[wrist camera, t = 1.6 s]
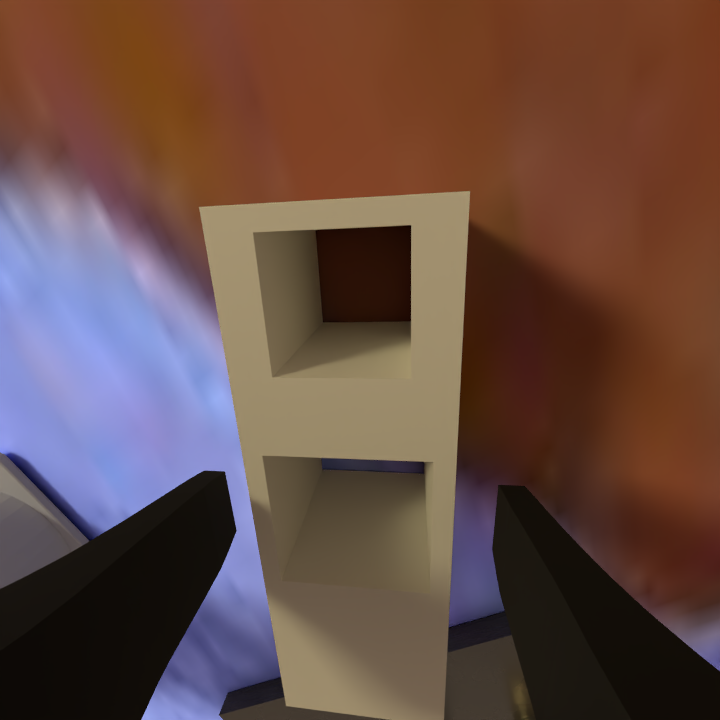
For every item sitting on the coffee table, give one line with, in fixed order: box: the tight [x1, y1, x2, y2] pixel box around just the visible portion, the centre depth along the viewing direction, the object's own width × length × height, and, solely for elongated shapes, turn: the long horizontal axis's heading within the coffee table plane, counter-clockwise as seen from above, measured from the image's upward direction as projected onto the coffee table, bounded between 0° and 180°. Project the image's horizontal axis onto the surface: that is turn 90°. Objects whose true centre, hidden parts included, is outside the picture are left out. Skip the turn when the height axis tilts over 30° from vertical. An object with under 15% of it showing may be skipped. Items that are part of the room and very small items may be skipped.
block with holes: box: [199, 191, 470, 720], centre depth 12 cm, size 15×5×5 cm, turn 2°
